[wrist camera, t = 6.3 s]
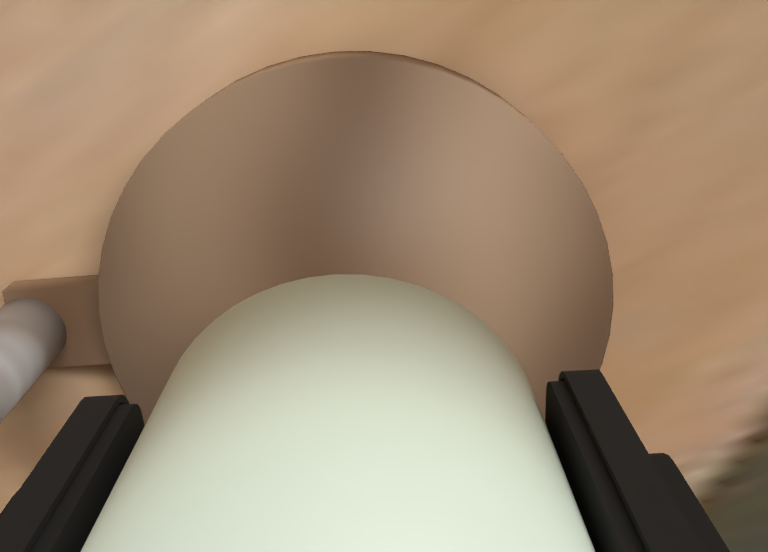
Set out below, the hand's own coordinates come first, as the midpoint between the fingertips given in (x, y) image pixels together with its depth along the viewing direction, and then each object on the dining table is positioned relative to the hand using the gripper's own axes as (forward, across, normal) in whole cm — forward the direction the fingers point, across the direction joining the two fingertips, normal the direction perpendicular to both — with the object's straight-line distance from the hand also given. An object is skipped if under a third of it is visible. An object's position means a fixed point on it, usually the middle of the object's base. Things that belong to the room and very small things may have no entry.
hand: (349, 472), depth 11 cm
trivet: (+7, +1, 0) cm, 7 cm away
